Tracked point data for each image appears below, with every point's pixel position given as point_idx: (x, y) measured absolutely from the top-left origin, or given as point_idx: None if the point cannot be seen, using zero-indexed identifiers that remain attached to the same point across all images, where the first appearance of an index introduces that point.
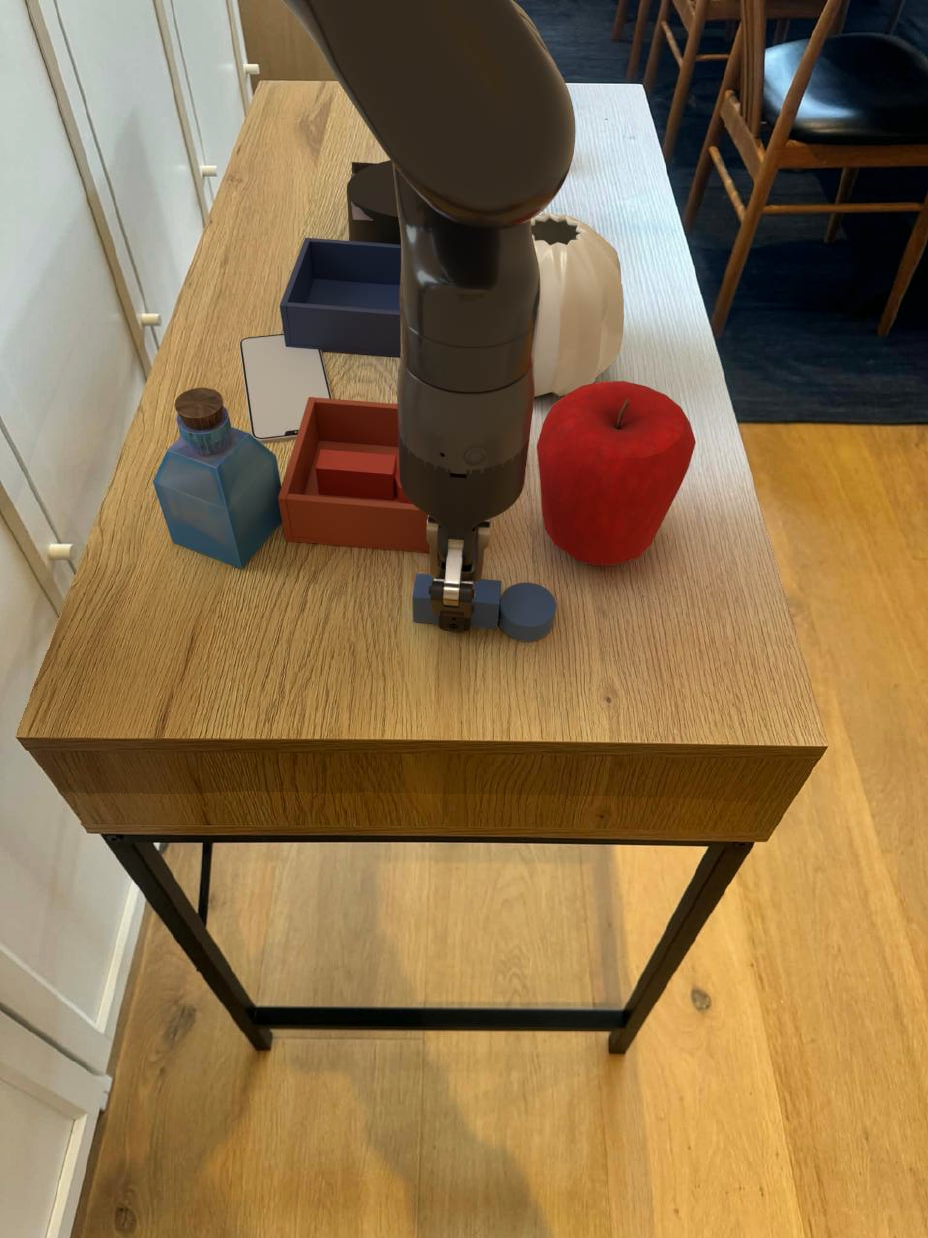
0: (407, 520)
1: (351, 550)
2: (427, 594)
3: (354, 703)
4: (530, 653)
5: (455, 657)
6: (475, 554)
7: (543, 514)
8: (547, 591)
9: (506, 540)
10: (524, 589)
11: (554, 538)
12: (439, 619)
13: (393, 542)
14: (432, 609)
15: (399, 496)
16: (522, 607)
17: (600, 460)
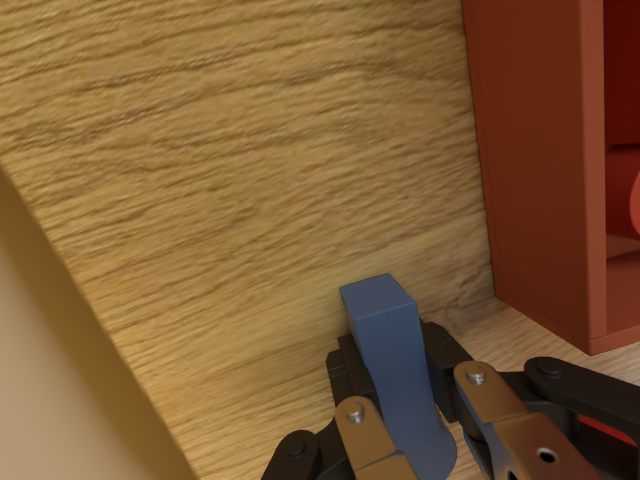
0: (552, 235)
1: (464, 112)
2: (368, 343)
3: (139, 267)
4: None
5: (296, 369)
6: (474, 456)
7: None
8: (446, 475)
9: (541, 350)
10: (440, 448)
11: None
12: (341, 349)
13: (496, 193)
14: (287, 444)
15: (616, 159)
16: None
17: None
